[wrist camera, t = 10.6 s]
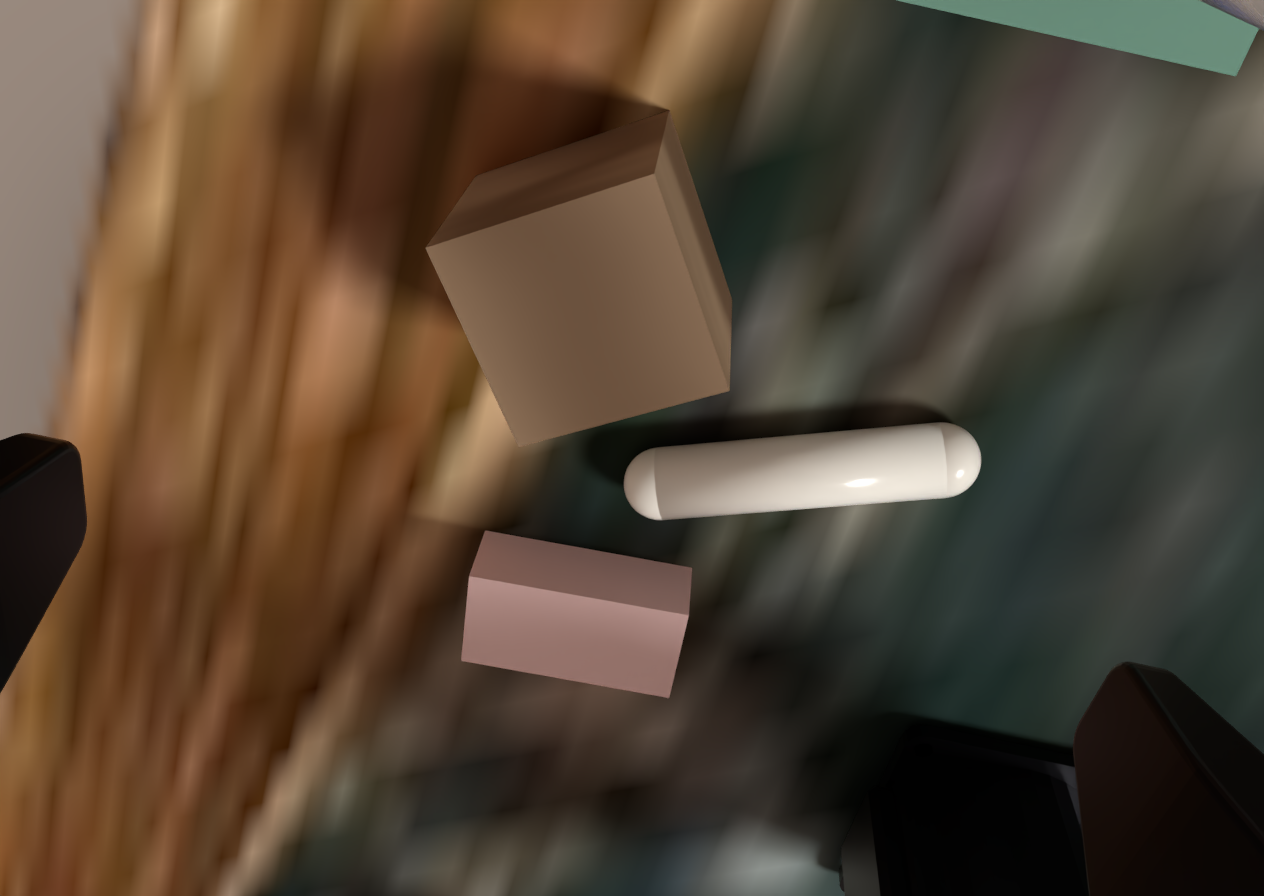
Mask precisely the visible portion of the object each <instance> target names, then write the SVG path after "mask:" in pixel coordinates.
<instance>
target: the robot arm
mask: <svg viewBox="0 0 1264 896" xmlns="http://www.w3.org/2000/svg"><path fill="white" fill-rule="evenodd" d="M86 527H87V514H86V504H85V495H84V485H83V475H82V465H81V458H80V454H79V452H78V450H77V448H76V447H75V446H74V445H73V444H72V443H70V442H69V441H66V440H61V439H56V438H51V437H46V436H42V435H37V434H31V433H21V434H18V435H14V436H11V437H9V438H6V439H3V440H0V693H1V691H2V689H3V688H4V686H5V684H6V683H7V681H8V679H9V677H10V676H11V674H12V672H13V671H14V669H15V667H16V665H17V663H18V661H19V660H20V658H21V656H22V654H23V652H24V650H25V649H26V647H27V645H28V643H29V641H30V640H31V638H32V636H33V634H34V632H35V630H36V629H37V627H38V625H39V623H40V621H41V619H42V618H43V616H44V614H45V612H46V610H47V608H48V607H49V605H50V603H51V601H52V599H53V598H54V596H55V594H56V592H57V590H58V588H59V587H60V585H61V583H62V581H63V579H64V577H65V576H66V574H67V572H68V570H69V568H70V566H71V565H72V563H73V561H74V559H75V557H76V556H77V554H78V552H79V550H80V548H81V546H82V543H83V540H84V537H85V533H86ZM919 744H927V745H924V746H917V745H919ZM841 857H842V865H841V867H840V869H839V881H840V887H841V889H842V891H844V892H845V896H1264V754H1263V753H1262V752H1261V751H1259V750H1258V749H1257V748H1256V747H1255V746H1254V745H1253V744H1252V743H1251V742H1249V741H1248V740H1247V739H1246V738H1245V737H1244V736H1243V735H1242V734H1240V733H1239V732H1238V731H1237V730H1236V729H1235V728H1234V727H1233V726H1232V725H1230V724H1229V723H1228V722H1227V721H1226V720H1225V719H1224V718H1223V717H1221V716H1220V715H1219V714H1218V713H1217V712H1216V711H1215V710H1214V709H1212V708H1211V707H1210V706H1209V705H1208V704H1207V703H1206V702H1205V701H1204V700H1202V699H1201V698H1200V697H1199V696H1198V695H1197V694H1196V693H1195V692H1193V691H1192V690H1191V689H1190V688H1189V687H1188V686H1187V685H1186V684H1185V683H1183V682H1182V681H1181V680H1180V679H1179V678H1178V677H1177V676H1176V675H1174V674H1173V673H1172V672H1170V671H1168V670H1165V669H1162V668H1157V667H1152V666H1148V665H1143V664H1138V663H1133V662H1122V663H1119V664H1117V665H1116V666H1115V667H1114V668H1112V670H1111V671H1110V672H1109V674H1108V675H1107V677H1106V679H1105V680H1104V682H1103V684H1102V685H1101V687H1100V689H1099V690H1098V692H1097V694H1096V695H1095V697H1094V699H1093V700H1092V702H1091V704H1090V705H1089V707H1088V709H1087V710H1086V712H1085V714H1084V715H1083V717H1082V719H1081V720H1080V722H1079V724H1078V726H1077V729H1076V732H1075V736H1074V743H1073V755H1068V754H1063V753H1059V752H1054V751H1049V750H1044V749H1039V748H1035V747H1030V746H1025V745H1020V744H1016V743H1011V742H1006V741H1001V740H996V739H992V738H987V737H982V736H977V735H972V734H968V733H963V732H958V731H953V730H948V729H944V728H939V727H934V726H929V725H916V726H912V727H910V728H908V729H907V730H906V731H905V732H904V733H903V734H902V736H901V738H900V740H899V743H898V745H897V747H896V749H895V751H894V753H893V755H892V758H891V760H890V762H889V764H888V766H887V768H886V770H885V773H884V775H883V777H882V779H881V781H880V783H879V785H878V786H877V785H875V786H874V787H872V788H871V789H870V790H869V791H867V793H866V795H865V797H864V799H863V801H862V804H861V806H860V808H859V810H858V812H857V815H856V817H855V819H854V821H853V823H852V825H851V828H850V830H849V832H848V834H847V836H846V838H845V841H844V843H843V845H842V847H841Z"/></svg>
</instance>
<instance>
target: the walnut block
mask: <svg viewBox="0 0 1264 896" xmlns="http://www.w3.org/2000/svg"><path fill="white" fill-rule="evenodd" d="M426 251H427V253H428V255H429V257H430V259H431V261H432V263H433V266H434V268H435V270H436V272H437V274H438V276H439V278H440V280H441V283H442V285H443V287H444V289H445V291H446V293H447V295H448V298H449V300H450V302H451V304H452V306H453V308H454V310H455V312H456V315H457V317H458V319H459V321H460V323H461V325H462V327H463V330H464V332H465V334H466V336H467V338H468V340H469V342H470V344H471V347H472V349H473V351H474V353H475V355H476V357H477V359H478V362H479V364H480V366H481V368H482V370H483V372H484V374H485V377H486V379H487V381H488V383H489V385H490V387H491V389H492V391H493V394H494V396H495V398H496V400H497V402H498V404H499V406H500V409H501V411H502V413H503V415H504V417H505V419H506V421H507V423H508V426H509V428H510V430H511V432H512V434H513V436H514V438H515V441H516V443H517V445H518V447H521V446H524V445H528V444H532V443H536V442H539V441H543V440H547V439H551V438H554V437H558V436H562V435H566V434H569V433H573V432H577V431H581V430H584V429H588V428H592V427H596V426H599V425H603V424H607V423H611V422H614V421H618V420H622V419H626V418H629V417H633V416H637V415H641V414H644V413H648V412H652V411H656V410H659V409H663V408H667V407H670V406H674V405H678V404H682V403H685V402H689V401H693V400H697V399H700V398H704V397H708V396H712V395H715V394H719V393H723V392H727V391H730V357H731V321H732V298H731V295H730V292H729V289H728V286H727V283H726V280H725V277H724V274H723V271H722V268H721V265H720V262H719V259H718V256H717V253H716V250H715V246H714V243H713V240H712V237H711V234H710V231H709V228H708V225H707V222H706V219H705V216H704V213H703V210H702V207H701V204H700V201H699V198H698V195H697V192H696V189H695V186H694V183H693V180H692V177H691V174H690V171H689V168H688V165H687V162H686V159H685V156H684V153H683V150H682V147H681V144H680V141H679V138H678V135H677V132H676V129H675V126H674V123H673V120H672V116H671V113H670V110H669V111H666V112H663V113H660V114H657V115H654V116H651V117H648V118H645V119H642V120H639V121H636V122H633V123H630V124H627V125H624V126H621V127H618V128H615V129H612V130H609V131H607V132H604V133H601V134H598V135H595V136H592V137H589V138H586V139H583V140H580V141H577V142H574V143H571V144H568V145H565V146H562V147H559V148H556V149H553V150H550V151H547V152H544V153H542V154H539V155H536V156H533V157H530V158H527V159H524V160H521V161H518V162H515V163H512V164H509V165H506V166H503V167H500V168H497V169H494V170H491V171H488V172H485V173H482V174H479V175H477V176H475V178H474V179H473V181H472V182H471V184H470V185H469V186H468V188H467V189H466V191H465V192H464V194H463V195H462V196H461V198H460V199H459V201H458V202H457V203H456V205H455V206H454V208H453V209H452V211H451V212H450V213H449V215H448V216H447V218H446V219H445V221H444V222H443V223H442V225H441V226H440V228H439V229H438V231H437V232H436V233H435V235H434V236H433V238H432V239H431V241H430V242H429V243H428V245H427V246H426Z"/></svg>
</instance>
